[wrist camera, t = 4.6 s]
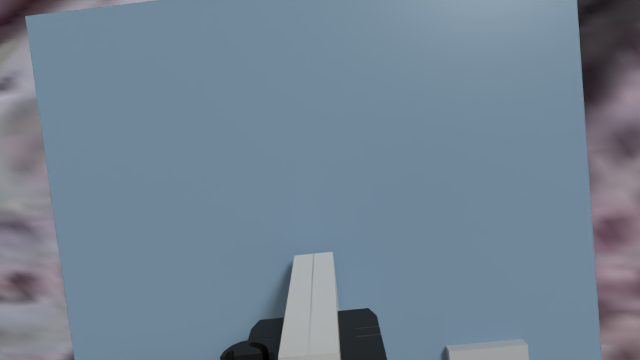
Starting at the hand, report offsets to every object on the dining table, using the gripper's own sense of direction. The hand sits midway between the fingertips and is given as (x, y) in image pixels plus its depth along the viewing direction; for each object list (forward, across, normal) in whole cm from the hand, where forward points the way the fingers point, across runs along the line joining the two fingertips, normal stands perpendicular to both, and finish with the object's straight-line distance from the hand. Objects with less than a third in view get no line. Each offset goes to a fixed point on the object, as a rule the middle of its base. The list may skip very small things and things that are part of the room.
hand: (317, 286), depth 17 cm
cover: (+2, 0, +3) cm, 4 cm away
